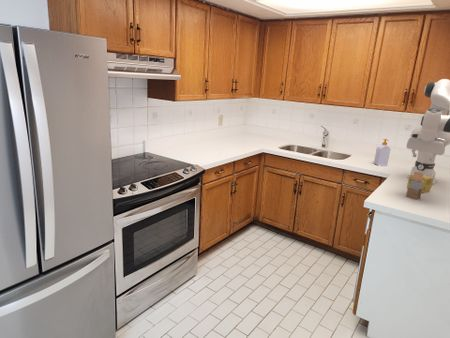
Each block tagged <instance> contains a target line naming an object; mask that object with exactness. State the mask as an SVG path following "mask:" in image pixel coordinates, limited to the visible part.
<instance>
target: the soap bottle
mask: <svg viewBox="0 0 450 338" xmlns="http://www.w3.org/2000/svg"><path fill="white" fill-rule="evenodd" d="M383 140H384V141H383V142H382V144H379V145H378V146H377V147H376V150H375V155H374V161H373V164H374V165H375V164H376V165H375V166H378V165H381V166H380V167H387V166H388V163H389V158H390V153H391V147H390V146H388V142H389V139H386V138H385V139H383ZM383 165H384V166H383Z"/></svg>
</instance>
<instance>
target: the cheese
mask: <svg viewBox="0 0 450 338" xmlns="http://www.w3.org/2000/svg"><path fill="white" fill-rule="evenodd" d="M409 175H410V174H409ZM411 180H413V175H410V177H408V180H407V181H408V182H407V186H406V188H407V189H408V188H409V187H410V183H411ZM422 181H423V184H422V188H421V189H422V192H421V194H422V193H428V192H429V193H430V192H431V190H432V189H431V188H432V186H433V185H434V184H433V178H432V177H428V176H424V175H423V178H422Z"/></svg>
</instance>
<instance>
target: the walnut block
mask: <svg viewBox="0 0 450 338" xmlns="http://www.w3.org/2000/svg"><path fill="white" fill-rule="evenodd" d="M421 192H422V189H420V190H415V189H411V188H407V191H406V194H405V197H406V198H409V199H412V200H415V201H416V200H419V199H420V198H421V196H422V193H421Z"/></svg>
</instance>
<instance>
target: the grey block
mask: <svg viewBox="0 0 450 338" xmlns="http://www.w3.org/2000/svg"><path fill="white" fill-rule="evenodd" d="M422 184H423V181H422V182H415V181H413V180H411V183H410V187H409V188H411V189H415V190H420V189H421V188H422Z"/></svg>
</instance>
